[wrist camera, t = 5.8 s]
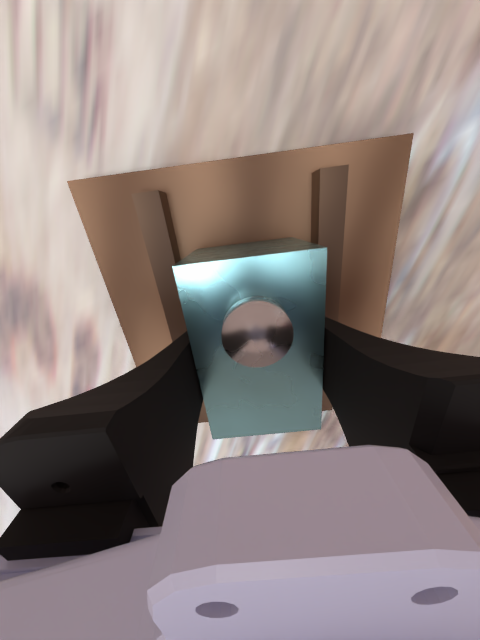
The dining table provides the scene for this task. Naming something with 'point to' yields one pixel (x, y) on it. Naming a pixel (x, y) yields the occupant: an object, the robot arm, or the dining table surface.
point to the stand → (248, 228)
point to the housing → (257, 333)
